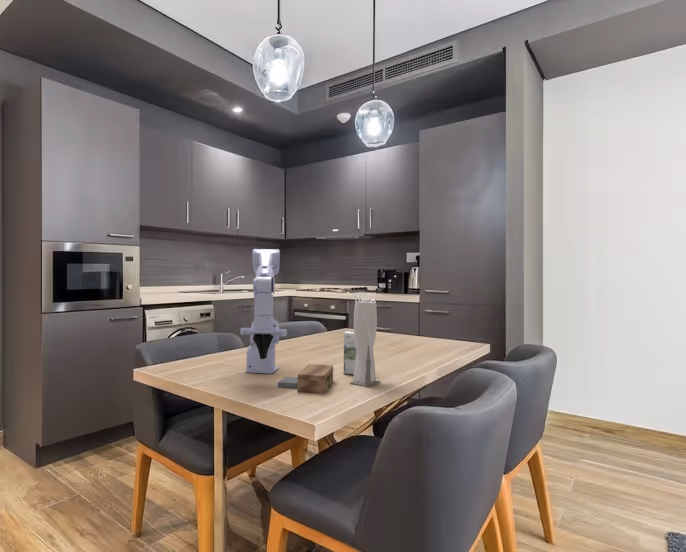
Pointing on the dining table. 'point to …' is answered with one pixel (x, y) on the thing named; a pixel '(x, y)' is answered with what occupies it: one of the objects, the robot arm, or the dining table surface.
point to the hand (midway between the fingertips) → (263, 358)
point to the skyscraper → (365, 342)
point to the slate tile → (288, 382)
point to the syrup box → (349, 352)
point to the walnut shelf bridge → (315, 378)
